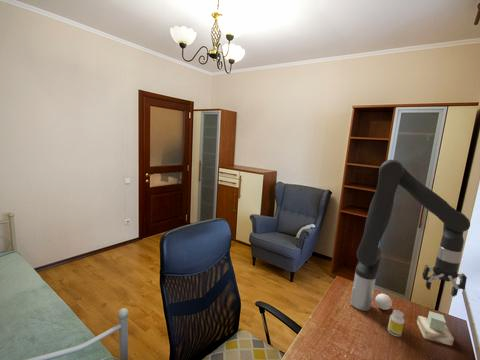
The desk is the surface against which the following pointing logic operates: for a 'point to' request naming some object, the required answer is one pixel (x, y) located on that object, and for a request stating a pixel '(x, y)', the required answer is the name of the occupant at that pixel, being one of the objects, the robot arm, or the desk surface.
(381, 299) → the white rounded oval
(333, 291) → the desk surface
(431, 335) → the birch block
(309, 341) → the desk surface
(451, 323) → the desk surface
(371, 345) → the desk surface
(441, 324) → the sage cube
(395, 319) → the supplement bottle
